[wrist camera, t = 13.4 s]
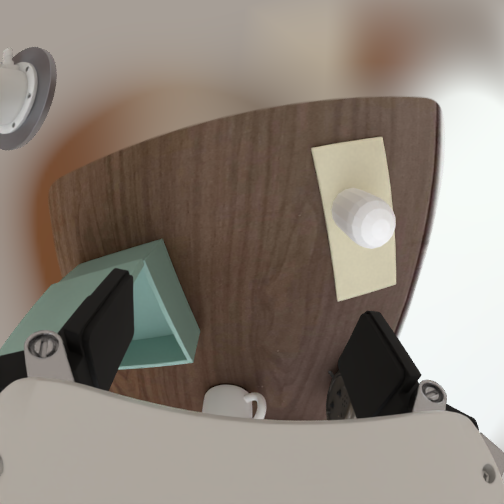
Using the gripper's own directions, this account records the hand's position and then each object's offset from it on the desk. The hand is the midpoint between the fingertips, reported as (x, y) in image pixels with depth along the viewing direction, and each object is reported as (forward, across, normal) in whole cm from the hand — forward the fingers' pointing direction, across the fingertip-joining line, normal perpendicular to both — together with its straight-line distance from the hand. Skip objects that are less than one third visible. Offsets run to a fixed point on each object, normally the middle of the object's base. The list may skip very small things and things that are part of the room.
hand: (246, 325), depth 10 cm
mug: (+22, -5, +32) cm, 39 cm away
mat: (+22, -14, -1) cm, 26 cm away
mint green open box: (+22, +12, +16) cm, 30 cm away
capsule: (+22, -12, -2) cm, 25 cm away
